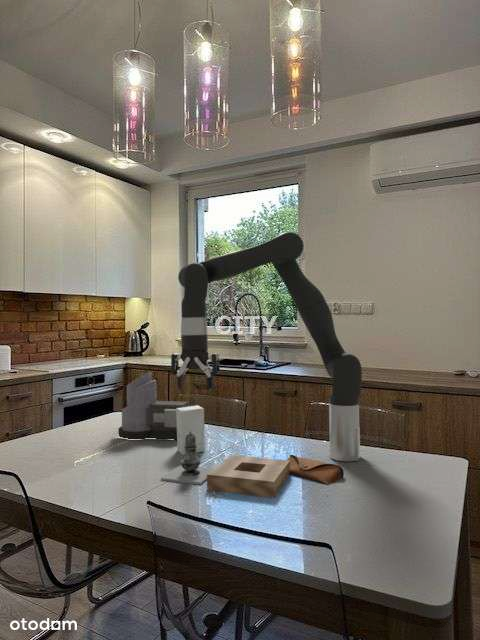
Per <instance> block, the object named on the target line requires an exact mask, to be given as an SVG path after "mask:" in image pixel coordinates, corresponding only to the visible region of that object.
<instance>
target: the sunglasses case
mask: <svg viewBox="0 0 480 640" xmlns="http://www.w3.org/2000/svg"><path fill="white" fill-rule="evenodd" d="M286 460H289V461H290V475H289V476H293V477H298V478H302V479H306V480H309V481H314V482H317V483H319V484H320V483H321V484H323V485H327V486H329V485H331V484H333V483H335V482H337V481H339V480H340V479H344V475H345V474H344V469H343V468H342V466H340V465H338V464H335V463H326V462H322V461H318V460H314V459H310V458H305V457H300V456H296V455H295V454H290V455H289V457H288V458H286Z"/></svg>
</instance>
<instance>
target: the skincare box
mask: <svg viewBox="0 0 480 640" xmlns="http://www.w3.org/2000/svg"><path fill="white" fill-rule="evenodd" d="M176 420H177V441H176V442H177V443H176V446H177V449H176V450H177V451H178V452H179V453H180V454H181V455H182V456H185V448H184V447H185V437H186V436H187V435H188V434H190V433H189V432H190V431H191V432H192V433H191V434H193V435H195V439H196V446H197V448H196V453H201V452H205V451H206V443H205V442H206V439H205V408H203V407H201V406H200V405H199V404H196V405H191V406H190V407H182V408H176Z"/></svg>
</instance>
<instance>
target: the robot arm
mask: <svg viewBox="0 0 480 640" xmlns="http://www.w3.org/2000/svg"><path fill="white" fill-rule="evenodd" d="M303 251H304V241H303V239H302V237H301V236H300V235H299V234H297V233H296V232H292V231H286V232H281V233H280V234H278V235H277V236H276V237H273V238H272V239H270V240H268V241H265V242H262V243H260V244H258V245H254V246H251V247H247V248H242V249H239V250H235V251H232V252H227V253H225V254H222V255H217V256H215V257H212V258H210V259H208V260H205V261H201V262H193V263H189V264H187V265H185V266H183V267H182V268H180V271H179V272H178V274H177V275H178V278H177V279H178V281H179V284H180V285H181V286H182V287H183V288H184V292H183V294H184V296H183V298H182V301H181V310H180V311H181V322H180V340H181V341H180V342H181V343H180V344H181V345H180V346H181V353H177V352H176V353H172V354H171V363H170V374H171V375H174V376H176V377H177V387H178V389H179V390H181V391H182V390H185V388H186V378H185V376H184V375H185V374H186V372H187V371H188V370H192V369H196V370H200V369H201V371H202V372H204V374H205V375H206V391H211V390H212V389H213V388H214V387H215V386H214V378H215V376H217V375H219V374H221V370H220V369H221V368H220V360H219V359H220V357H219V356H220V355H219V353H212V354H211V353H209V351H208V349H209V345H208V344H209V342H208V322H207V307H206V306H207V305H206V300H207V295H208V286H209V284H211V283H213V282H216V281H217V282H218V281H223V280H226V279H230V278H233V277H236V276H239V275H242V274H244V273H247V272H249V271H251V270H254V269H256V268H259V267H261V266H265V265H268V264H272V266H273V268H274V269H275V271H276V272H277V274H278V275H279V276H280V278H281V280H282V282H283V283H284V285H285V287H286V290H287V291H288V293H289V295H290V297H291V299H292V301H293V304H294V305H295V308H296V310H297V311H298V314H299V316H300V318H301V320H302V322H303V324H304V326H305V327H306V330H307V331H308V333H309V335H310V336H311V338H312V340H313V342H314V343H315V345H316V347H317V350H318V352H319V354H320V358H321V360H322V362H323V365H324V366H323V367H324V368H325V371H326V373H327V375H328V376H330V378H331V379H333V383H332V385H333V386H332V391H331V393H330V394H329V396H328V399H329V400H328V401H329V402H328V403H329V404H328V405H329V407H328V408H329V458H330V459H332V460H334V461H339V462H360V461H359V460H360V457H361V430H360V429H361V428H360V398H361V394H362V380H363V379H362V378H363V376H362V375H363V374H362V373H363V370H362V365H361V361H360V359H358V357H357V356H355V355H353V354H351V353H347V352H346V351H345V350H344V348H343V346H342V345H341V342H340V341H339V339H338V336H337V335H336V331H335V324H334V319H333V315H332V311H331V309H330V306H329V305H328V303H327V300H326V299H325V296H324V295H323V293H322V292H321V290H319V288H318V287H317V286H316V285H315V284H314V283H313V282H312V281H310V280H309V279H308V278H307V276H305V274H304V273H303V272H302V270H301V268H300V266H299V263H298V262H297V260H298V259H299V258H300V257H301V255H303ZM208 360H210V362H211V366H210V365H209V364H208ZM180 361H182V364H181V365H180V366H179V362H180ZM211 367H212V368H211Z"/></svg>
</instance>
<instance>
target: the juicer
mask: <svg viewBox="0 0 480 640" xmlns="http://www.w3.org/2000/svg"><path fill="white" fill-rule="evenodd" d="M190 406H192V404H191V405H190V403H189V401H178V400H177V401H175V400H172V401H171V400H169V401H168V400H157V380H156V379H152V372H151V371H150V372H147V373H146V374H145V373H144V374H143V375H141V376H139V377H137V378H136V379H134V380H132V381H131V382H129V383H128V384H127V385H126V406H125V407H123V408H122V410H121V426H119V427H118V430H117V431H118V433H117V434H119V436H120V437H123V438H128V439H145V438H156V439H174V440H177V420H176V408H182V407H190Z"/></svg>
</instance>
